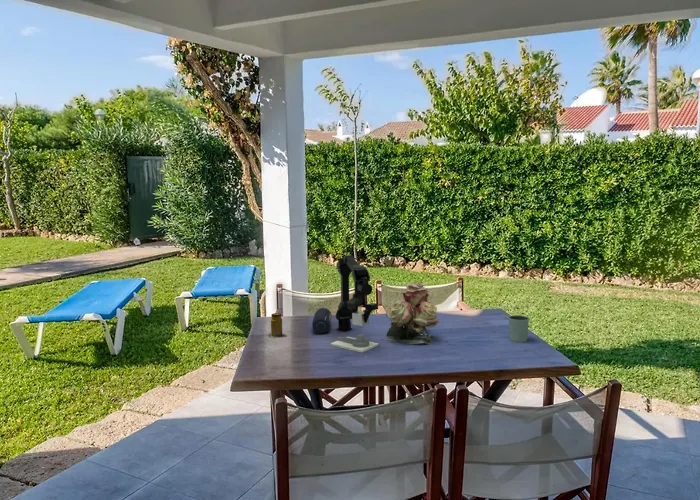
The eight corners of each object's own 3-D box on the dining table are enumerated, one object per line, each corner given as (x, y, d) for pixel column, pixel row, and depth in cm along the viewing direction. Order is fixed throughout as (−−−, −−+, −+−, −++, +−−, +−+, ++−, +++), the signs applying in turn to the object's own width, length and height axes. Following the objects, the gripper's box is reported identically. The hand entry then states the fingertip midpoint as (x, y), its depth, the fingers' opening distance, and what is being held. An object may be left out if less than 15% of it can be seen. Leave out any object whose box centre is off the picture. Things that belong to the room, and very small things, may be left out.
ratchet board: (330, 345, 275) (330, 333, 274) (347, 338, 285) (347, 327, 285) (361, 352, 262) (361, 340, 261) (378, 345, 273) (378, 334, 272)
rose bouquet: (381, 342, 278) (381, 285, 274) (402, 328, 304) (402, 276, 299) (428, 349, 266) (429, 290, 262) (446, 333, 292) (447, 279, 288)
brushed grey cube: (352, 324, 274) (352, 312, 274) (359, 321, 279) (359, 310, 278) (361, 326, 271) (361, 314, 270) (368, 323, 275) (368, 312, 275)
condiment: (270, 334, 295) (269, 312, 293) (285, 332, 297) (284, 311, 295) (271, 338, 288) (270, 316, 286) (287, 336, 290) (286, 315, 288)
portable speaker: (329, 335, 292) (329, 317, 290) (311, 335, 292) (311, 317, 291) (332, 322, 317) (332, 306, 315) (315, 322, 317) (315, 306, 316)
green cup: (529, 343, 274) (530, 320, 272) (508, 342, 276) (509, 319, 274) (526, 337, 284) (527, 315, 282) (507, 336, 286) (507, 314, 284)
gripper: (335, 292, 272) (336, 322, 274) (365, 296, 261) (366, 327, 263) (349, 288, 281) (349, 318, 283) (378, 292, 270) (379, 322, 271)
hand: (360, 321), depth 275 cm, fingers closed on brushed grey cube, 6 cm apart
